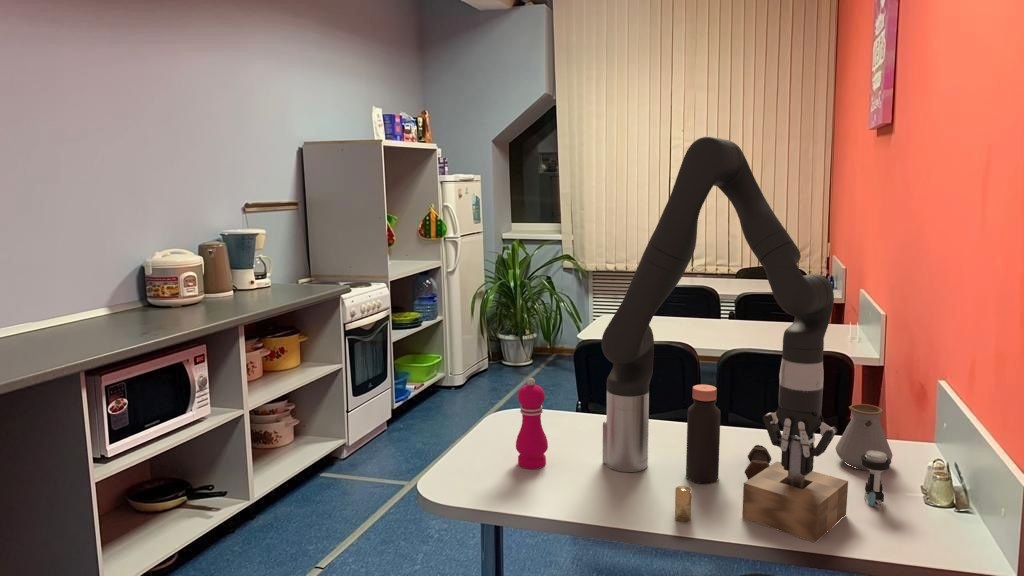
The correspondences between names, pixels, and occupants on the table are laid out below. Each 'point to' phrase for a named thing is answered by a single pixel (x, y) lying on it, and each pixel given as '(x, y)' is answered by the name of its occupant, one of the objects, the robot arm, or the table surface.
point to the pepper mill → (531, 427)
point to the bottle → (703, 436)
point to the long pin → (795, 463)
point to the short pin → (683, 504)
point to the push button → (875, 476)
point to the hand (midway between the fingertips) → (796, 471)
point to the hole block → (795, 502)
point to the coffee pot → (862, 436)
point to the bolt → (757, 461)
